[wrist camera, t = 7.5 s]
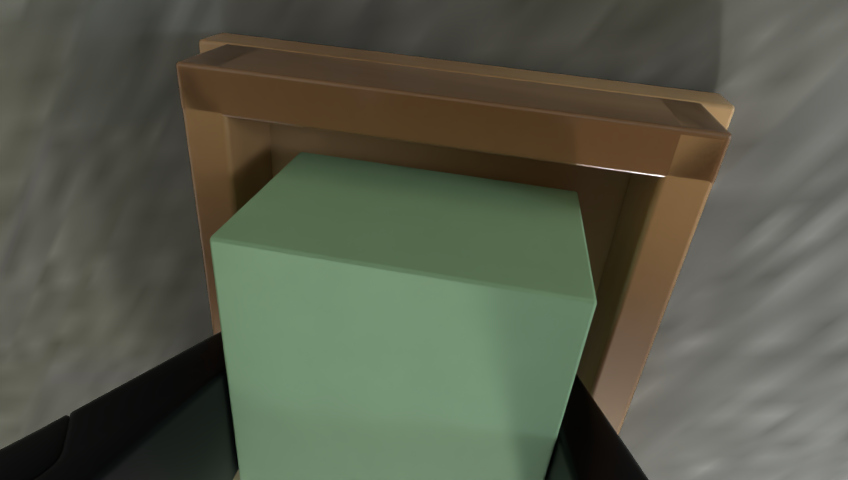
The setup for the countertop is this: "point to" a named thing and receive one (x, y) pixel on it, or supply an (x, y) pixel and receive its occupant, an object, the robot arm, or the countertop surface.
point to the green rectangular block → (400, 323)
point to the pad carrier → (473, 158)
